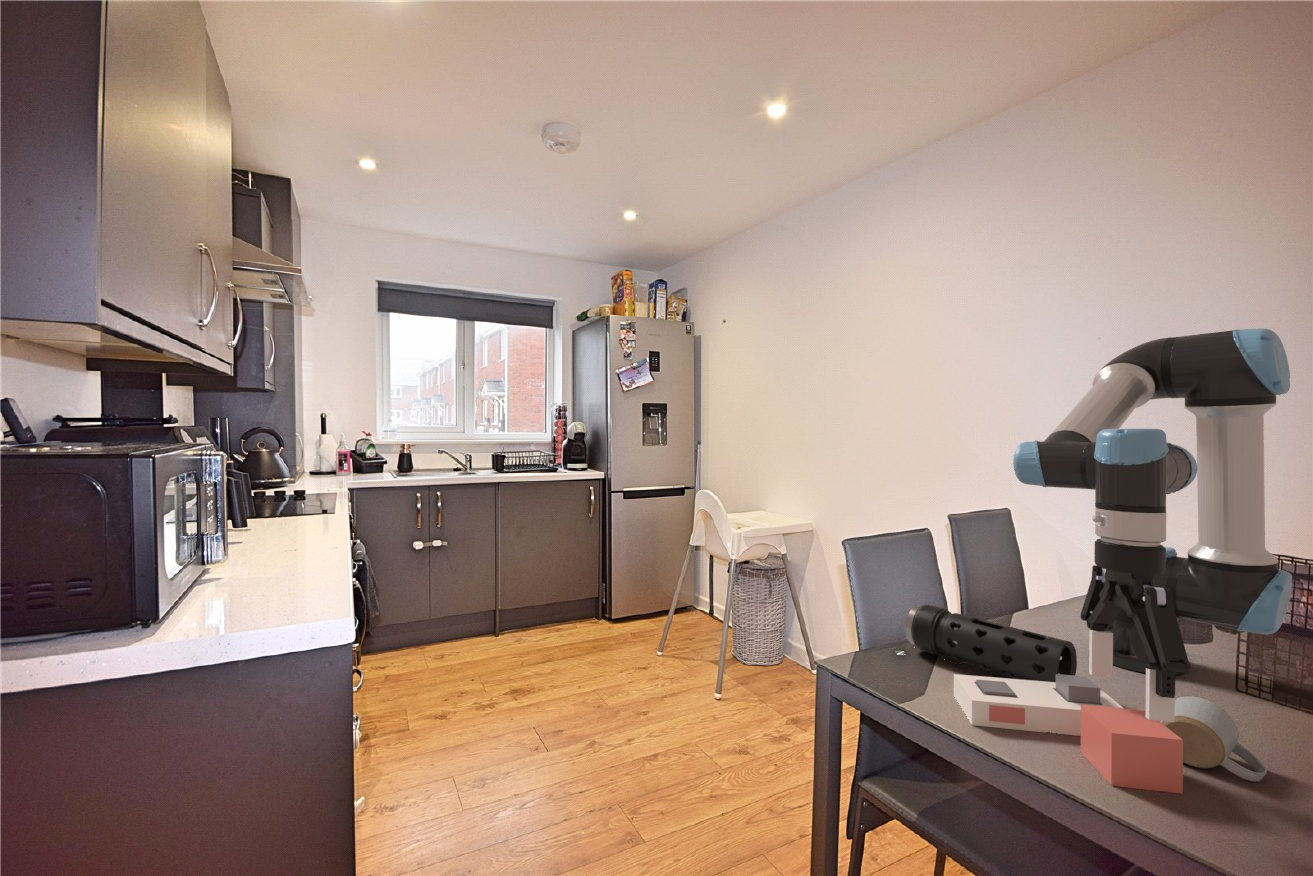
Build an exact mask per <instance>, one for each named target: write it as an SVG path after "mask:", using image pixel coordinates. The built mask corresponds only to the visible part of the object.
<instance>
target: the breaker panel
mask: <svg viewBox="0 0 1313 876" xmlns="http://www.w3.org/2000/svg"><path fill="white" fill-rule="evenodd" d="M976 680H988V681H1000V682H1005V683H1006V684H1007V685H1008V686H1009V687H1010V688H1011V689H1012V691H1013V692H1014V693H1015V697H1004V696H993V695H984V694H983V693H982V692H981V690H980V689H979V688H978V686H977V685H976ZM954 697H955V698H954ZM953 698H954V700H955V701H956V700H957V701H956V703H957V702H958V703H959V704H958V703H957V704H958V706H959V705H960V706H961V707H960V706H959V707H960V709H961V708H962V709H961V711H962V712H963V711H964V712H963V713H965V714H966V715H965V714H964V715H965V717H966V716H967V717H966V718H967V719H969V720H968V721H969V723H970V725H971V724H972V725H971V726H976V727H986V728H988V727H989V728H995V729H996V728H997V729H1008V730H1017V731H1026V732H1027V731H1028V732H1035V733H1037V732H1039V733H1046V732H1050V733H1049V734H1056V733H1057V735H1058V734H1060V735H1067V736H1068V735H1069V736H1076V737H1077V736H1079V737H1081V705H1091V706H1103V707H1114V708H1124V707H1123V706H1122V705H1120V704H1119V703H1118V702H1117V701H1115V699H1113V698H1112V697H1111V696H1109V695H1108V694H1107V693H1106V692H1104V690H1102V689H1101V688H1100V705H1096V704H1084V703H1073V702H1067V701H1066V700H1065V699H1064V698H1063V697H1062V696H1061V695H1059V694H1058V693H1057V692H1056V682H1045V681H1033V680H1020V679H1008V678H1005V677H995V676H994V677H993V676H984V675H983V676H981V675H980V676H979V675H969V674H968V675H967V674H957V673H956V674H954V673H953ZM1051 732H1052V733H1051Z"/></svg>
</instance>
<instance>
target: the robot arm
mask: <svg viewBox="0 0 1313 876" xmlns="http://www.w3.org/2000/svg"><path fill="white" fill-rule="evenodd" d="M1290 378H1291V371H1290V366H1289V360H1288V356H1287V353H1286V350H1285V347H1284V345H1283V342H1282V340H1281V338H1280V337H1279V335H1278V334H1277V333H1276V332H1275V331H1273V330H1272V329H1268V328H1249V329H1248V328H1243V329H1239V328H1237V329H1233V330H1224V331H1223V330H1222V331H1218V332H1217V331H1216V332H1207V333H1199V334H1191V335H1182V336H1173V337H1171V336H1170V337H1169V336H1168V337H1163V338H1162V337H1161V338H1158V339H1157V338H1156V339H1153V340H1150V341H1147V342H1143V343H1140V344H1138V345H1137V346H1134V347H1132V348H1130V349H1128V350H1127V351H1124V352H1123V353H1121V354H1119V355H1117V356H1115V357H1114V358H1113V359H1111V360H1110V361H1109V362H1108V363H1106V364H1105V365H1104V366H1103V367H1102V368H1100V370H1099V371H1098V372H1097V373H1096V375H1095V376H1094V378H1093V380H1092V387H1091V388H1090V389H1089V390H1088V392H1086V394H1085V395H1084V396H1083V398H1081V400H1080V401H1079V402H1078V403H1077V404H1076V405H1075V406H1074V407H1073V408H1072V410H1071V411H1070V412H1069V413H1068V414H1067V415H1066V416H1065V417H1064V418H1063V420H1061V422H1060V423H1059V424H1058V425H1057V426H1056V428H1055V429H1054V430H1052V432H1051V433H1050V434H1049V436H1047V437H1046V438H1045V439H1044V441H1041V440H1040V441H1039V440H1037V439H1036V440H1034V441H1033V440H1032V441H1024V442H1022V443H1020V444H1019V445H1018V446H1017V447H1016V449H1015V451H1014V454H1013V459H1012V460H1013V462H1012V467H1013V471H1014V474H1015V477H1016V478H1017V480H1018V481H1019V482H1020V483H1022V484H1024V485H1028V486H1029V485H1030V486H1037V487H1043V488H1061V489H1062V488H1064V489H1076V490H1078V489H1079V490H1080V489H1081V490H1093V491H1094V493H1095V498H1094V499H1095V500H1094V501H1095V502H1094V507H1095V512H1094V515H1093V516H1092V521H1093V522H1094V524H1095V525H1094V526H1095V527H1094V528H1095V529H1094V530H1095V531H1094V532H1095V533H1094V534H1095V535H1096V536H1097V537H1099V538H1097V539H1096V540H1095V541H1094V559H1093V560H1094V561H1093V562H1094V563H1095V565H1094V564H1093V565H1092V568H1091V569H1092V570H1091V578H1090V579H1091V580H1090V583H1089V586H1088V589H1087V592H1086V596H1085V600H1084V602H1083V605H1082V609H1081V612H1080V616H1079V617H1080V619H1081V621H1082V622H1083V621H1085V622H1086V627H1087V628H1088V629H1089V636H1088V639H1089V640H1088V641H1089V649H1088V651H1089V652H1088V653H1089V654H1088V657H1089V660H1088V663H1089V665H1088V666H1089V667H1088V673H1089V674H1090V675H1091V676H1096V677H1106V678H1107V677H1108V678H1113V674H1114V673H1113V672H1114V671H1113V669H1114V668H1113V667H1114V666H1116V667H1119V668H1122V669H1123V668H1124V669H1126V670H1131V671H1133V672H1134V671H1135V672H1140V673H1145V711H1146V718H1148V719H1149V720H1156V721H1159V722H1160V721H1166V722H1175V699H1176V675H1177V676H1178V675H1182V674H1185V673H1189V672H1191V670H1192V669H1191V664H1190V661H1189V657H1188V655H1187V654H1188V653H1187V650H1186V647H1185V643H1184V640H1183V637H1182V633H1181V629H1180V626H1179V622H1178V619H1183V620H1188V621H1193V622H1198V623H1203V624H1208V625H1212V626H1218V627H1222V628H1227V629H1231V630H1235V631H1236V630H1237V632H1247V633H1255V634H1259V635H1264V636H1265V635H1273V634H1274V633H1276V632H1278V631H1279V629H1280V628H1281V626H1282V624H1283V622H1284V620H1285V617H1286V614H1287V612H1288V611H1287V610H1288V608H1289V605H1290V604H1289V603H1290V600H1291V597H1292V596H1291V595H1292V590H1293V589H1292V588H1293V575H1292V574H1291V573H1290V572H1289V571H1285V570H1284V569H1279V559H1278V558H1277V557H1276V556H1275V555H1274V554H1272V553H1271V552H1270V551H1268V550H1267V549H1266V525H1265V524H1266V522H1265V521H1266V520H1265V519H1266V513H1265V511H1266V508H1265V507H1266V506H1265V505H1266V503H1265V500H1266V499H1265V442H1264V440H1265V437H1264V436H1265V434H1264V433H1265V432H1264V431H1265V428H1264V427H1265V426H1264V425H1265V424H1264V416H1265V415H1266V413H1267V412H1268V411H1270V410H1271V409H1273V408H1274V407H1275V406H1276V405H1277V395H1278V396H1281V395H1284V394H1287V393H1288V392H1289V391H1290V389H1291V380H1290ZM1159 399H1160V400H1162V399H1184V409H1186V410H1187V411H1189V413H1191V414H1193V415H1194V417H1195V419H1196V421H1195V422H1196V423H1195V426H1196V428H1195V429H1196V431H1195V432H1196V459H1195V457H1194V455H1193V454H1192V453H1191V452H1189V450H1187V449H1185V448H1184V447H1182V446H1181V445H1178V444H1177V445H1176V444H1173V443H1171V442H1167V434H1166V432H1165V431H1164V430H1162V429H1160V428H1121V427H1122V425H1123V424H1124V423H1125V422H1126V421H1127V419H1128V418H1129V417H1130V416H1131V414H1132V413H1133V412H1134V410H1135V409H1136V408H1139V407H1142V406H1144V405H1146V404H1147V403H1148V402H1150V401H1152V400H1159ZM1196 477H1197V479H1196ZM1195 479H1196V480H1197V485H1196V486H1197V526H1198V527H1197V529H1198V530H1197V531H1198V535H1197V537H1198V542H1197V544H1195V545H1194V546H1193V547H1191V548H1189V549H1188V550H1187V557H1181V556H1178V552H1177V550H1176V549H1175V548H1174V547H1170V546H1165V545H1163V544H1161V543H1164V542H1166V541H1167V495H1170V494H1175V493H1176V492H1180V491H1181V490H1184V488H1185V489H1186V488H1187V487H1188V486H1189V485H1191V484H1192V483H1193V482H1194V480H1195ZM1177 618H1178V619H1177Z"/></svg>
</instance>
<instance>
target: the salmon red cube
mask: <svg viewBox="0 0 1313 876" xmlns="http://www.w3.org/2000/svg"><path fill="white" fill-rule="evenodd" d="M1080 753H1081V755H1083V757H1084V758H1086V760H1087V761H1088V762H1089V763H1090V764H1091V765H1092V767H1093V768H1094V769H1095V770H1097V772H1098V773H1100V775H1101V776H1102V777H1103V779H1105V780H1106V781H1107V783H1108V784H1109V785H1111V787H1112V786H1113V787H1120V788H1121V787H1122V788H1129V789H1138V790H1146V791H1154V792H1163V793H1164V792H1165V793H1174V794H1181V795H1182V794H1184V793H1183V792H1184V786H1183V785H1184V783H1183V782H1184V775H1183V774H1184V763H1183V740H1182V739H1181V738H1180V737H1179V736H1177V735H1176V734H1175V733H1173V732H1172V731H1171V730H1170V729H1168V728H1167V727H1166V726H1164V725H1163V724H1162V723H1160V721H1156V720H1149V719H1148V718H1146V709H1136V708H1124V707H1123V708H1114V707H1103V706H1091V705H1081V736H1080Z"/></svg>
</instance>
